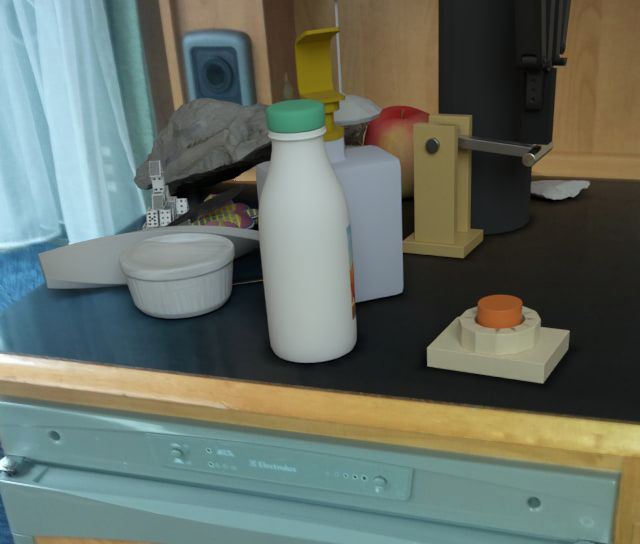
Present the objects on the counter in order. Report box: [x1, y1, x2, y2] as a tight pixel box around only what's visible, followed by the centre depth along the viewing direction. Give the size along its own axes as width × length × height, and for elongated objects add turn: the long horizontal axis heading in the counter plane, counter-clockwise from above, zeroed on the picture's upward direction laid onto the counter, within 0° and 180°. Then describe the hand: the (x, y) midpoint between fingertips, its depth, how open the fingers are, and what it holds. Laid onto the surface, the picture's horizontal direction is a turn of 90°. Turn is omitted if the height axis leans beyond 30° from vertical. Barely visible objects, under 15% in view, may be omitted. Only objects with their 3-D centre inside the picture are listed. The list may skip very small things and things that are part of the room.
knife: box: [232, 276, 263, 286], centre depth 104 cm, size 10×2×1 cm, turn 96°
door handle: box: [37, 224, 260, 290], centre depth 104 cm, size 26×5×5 cm
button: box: [477, 294, 523, 329], centre depth 82 cm, size 4×4×2 cm
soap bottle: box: [255, 26, 404, 304], centre depth 91 cm, size 12×7×23 cm, turn 109°
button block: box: [426, 305, 571, 384], centre depth 84 cm, size 10×7×4 cm
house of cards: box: [141, 161, 192, 230], centre depth 117 cm, size 9×9×8 cm
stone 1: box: [133, 97, 272, 193], centre depth 122 cm, size 15×28×10 cm, turn 50°
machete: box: [165, 185, 245, 227], centre depth 113 cm, size 15×3×1 cm, turn 113°
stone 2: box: [530, 179, 591, 201], centre depth 119 cm, size 6×8×2 cm
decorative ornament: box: [177, 193, 259, 230], centre depth 115 cm, size 17×2×10 cm
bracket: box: [402, 113, 484, 259], centre depth 105 cm, size 7×6×13 cm
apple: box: [363, 105, 431, 200], centre depth 121 cm, size 10×10×10 cm
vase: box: [437, 0, 534, 236], centre depth 105 cm, size 10×10×30 cm
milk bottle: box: [257, 98, 358, 364], centre depth 83 cm, size 8×8×20 cm
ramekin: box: [119, 233, 235, 320], centre depth 98 cm, size 11×11×5 cm
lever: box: [435, 122, 555, 168], centre depth 100 cm, size 12×6×2 cm, turn 62°
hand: (536, 142), depth 98 cm, fingers closed
